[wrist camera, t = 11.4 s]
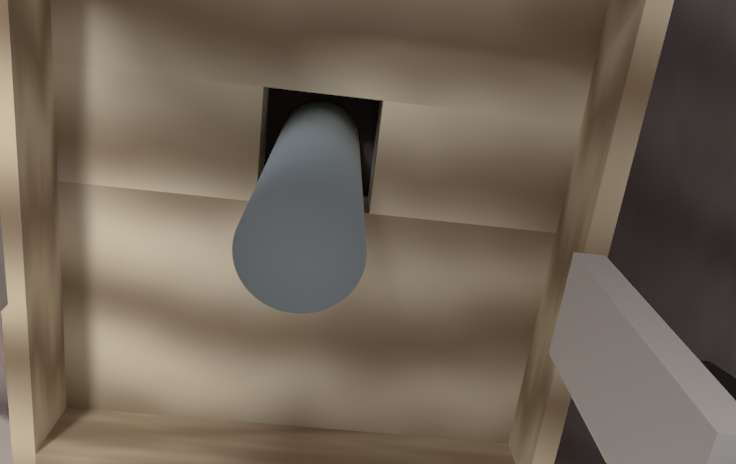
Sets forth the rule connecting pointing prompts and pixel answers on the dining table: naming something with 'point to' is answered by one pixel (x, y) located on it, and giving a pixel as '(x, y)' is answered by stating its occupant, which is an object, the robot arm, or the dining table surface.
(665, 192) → the dining table surface
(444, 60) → the box
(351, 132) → the peg
